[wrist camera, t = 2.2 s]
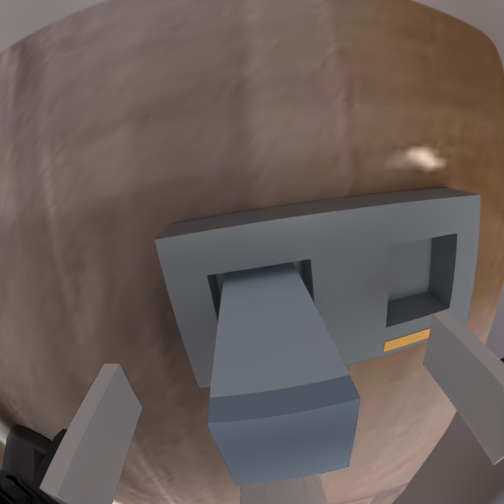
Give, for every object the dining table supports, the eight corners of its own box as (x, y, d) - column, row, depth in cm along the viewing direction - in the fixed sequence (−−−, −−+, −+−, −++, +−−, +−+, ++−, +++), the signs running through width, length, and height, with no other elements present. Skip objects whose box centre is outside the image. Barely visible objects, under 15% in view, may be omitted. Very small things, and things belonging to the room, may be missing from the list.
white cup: (243, 422, 24) (246, 514, 14) (322, 424, 24) (345, 506, 15) (233, 461, 26) (234, 535, 16) (301, 462, 27) (314, 532, 17)
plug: (236, 321, 19) (236, 485, 8) (225, 266, 18) (206, 423, 6) (295, 312, 19) (348, 466, 8) (289, 256, 18) (360, 397, 6)
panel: (204, 352, 21) (198, 389, 17) (172, 223, 18) (153, 240, 14) (439, 304, 21) (466, 327, 17) (445, 187, 18) (481, 194, 14)
